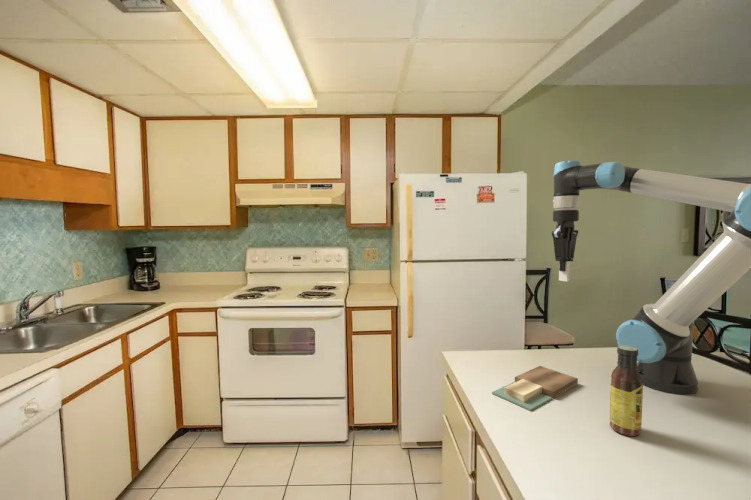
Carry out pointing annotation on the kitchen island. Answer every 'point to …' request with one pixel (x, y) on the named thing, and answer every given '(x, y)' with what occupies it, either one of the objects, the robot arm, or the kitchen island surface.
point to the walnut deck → (549, 380)
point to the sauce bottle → (626, 393)
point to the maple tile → (523, 390)
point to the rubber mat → (527, 405)
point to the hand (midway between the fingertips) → (564, 280)
